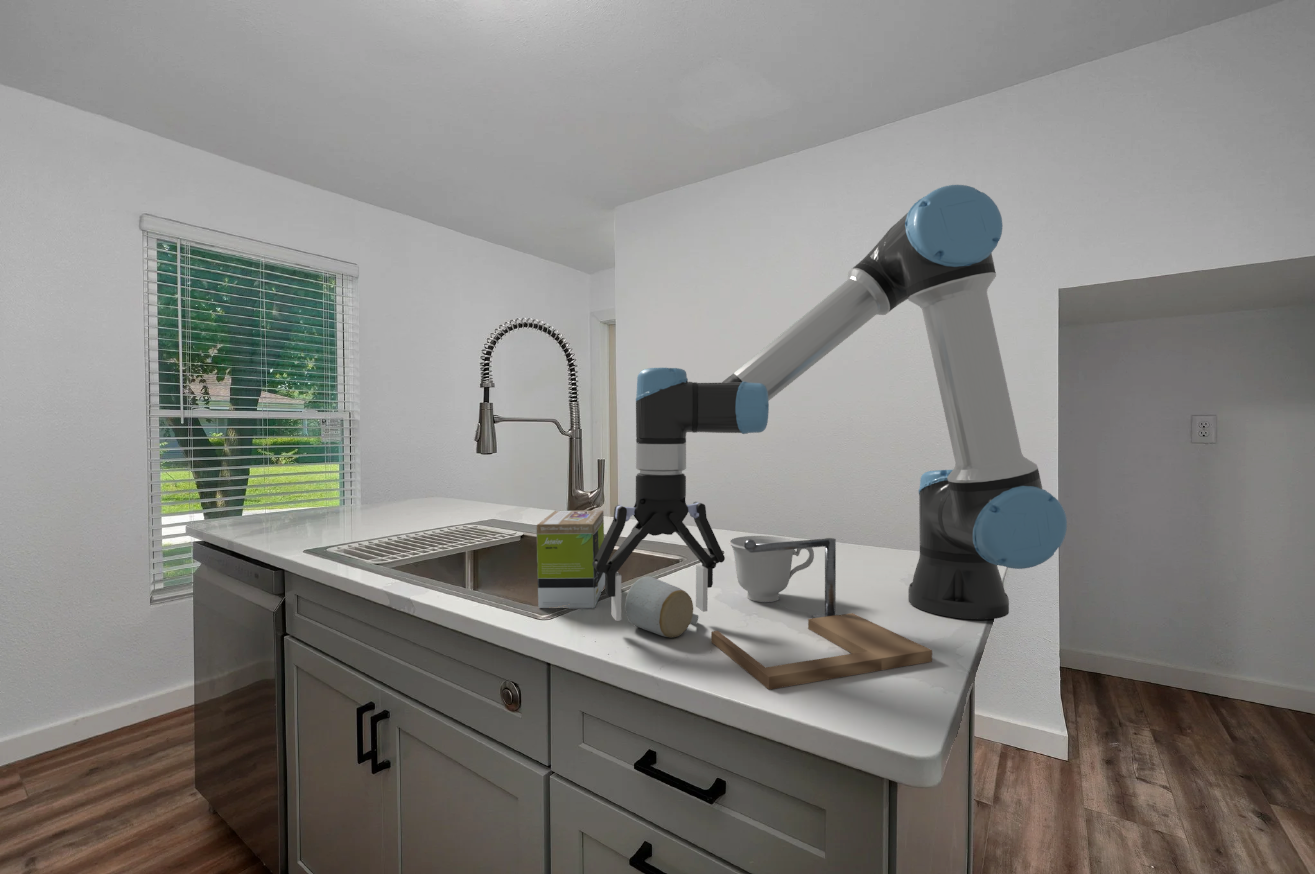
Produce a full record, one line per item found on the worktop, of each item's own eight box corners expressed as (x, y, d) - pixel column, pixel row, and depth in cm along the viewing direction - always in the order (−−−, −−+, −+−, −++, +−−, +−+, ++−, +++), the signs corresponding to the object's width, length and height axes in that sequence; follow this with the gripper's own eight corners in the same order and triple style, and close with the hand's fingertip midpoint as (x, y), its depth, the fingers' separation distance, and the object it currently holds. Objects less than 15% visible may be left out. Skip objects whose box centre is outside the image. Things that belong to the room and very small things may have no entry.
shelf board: (852, 622, 91) (852, 613, 91) (931, 661, 76) (932, 650, 76) (711, 642, 83) (711, 631, 83) (768, 689, 68) (768, 676, 68)
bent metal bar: (833, 616, 94) (833, 530, 94) (849, 624, 90) (849, 534, 90) (738, 629, 88) (738, 537, 88) (751, 637, 85) (751, 542, 84)
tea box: (554, 585, 113) (554, 509, 113) (606, 585, 113) (606, 509, 113) (536, 609, 98) (535, 521, 98) (595, 610, 98) (595, 522, 98)
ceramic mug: (662, 645, 82) (662, 590, 82) (623, 631, 88) (624, 580, 88) (711, 628, 89) (711, 578, 89) (672, 616, 95) (673, 569, 95)
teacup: (820, 609, 98) (820, 549, 98) (730, 607, 99) (730, 548, 99) (808, 589, 110) (808, 536, 110) (728, 587, 111) (728, 535, 111)
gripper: (725, 468, 95) (724, 598, 96) (573, 471, 87) (572, 613, 87) (747, 472, 88) (745, 612, 89) (584, 475, 80) (583, 630, 80)
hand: (659, 613), depth 88 cm, fingers open, 13 cm apart
